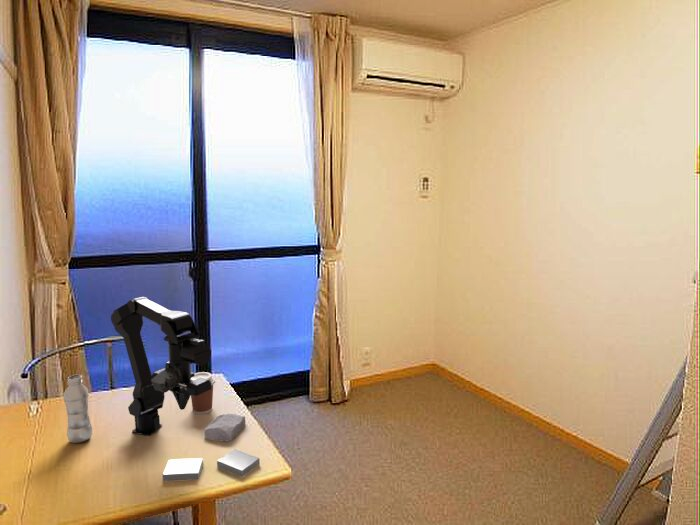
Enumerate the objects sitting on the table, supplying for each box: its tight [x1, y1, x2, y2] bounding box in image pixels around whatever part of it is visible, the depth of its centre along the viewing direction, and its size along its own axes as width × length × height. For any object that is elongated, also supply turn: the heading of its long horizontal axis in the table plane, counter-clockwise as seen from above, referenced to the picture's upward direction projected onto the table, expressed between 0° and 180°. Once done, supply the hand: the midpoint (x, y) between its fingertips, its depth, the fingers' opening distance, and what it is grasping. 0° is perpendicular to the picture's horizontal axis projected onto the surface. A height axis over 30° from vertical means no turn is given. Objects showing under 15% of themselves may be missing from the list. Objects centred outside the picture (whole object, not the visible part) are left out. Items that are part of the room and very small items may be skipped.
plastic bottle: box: [62, 374, 93, 444], centre depth 148 cm, size 6×7×20 cm
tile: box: [216, 448, 261, 478], centre depth 138 cm, size 2×7×9 cm
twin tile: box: [162, 457, 204, 482], centre depth 134 cm, size 9×7×2 cm
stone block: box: [204, 413, 246, 442], centre depth 156 cm, size 12×5×10 cm
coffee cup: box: [190, 371, 216, 415], centre depth 170 cm, size 9×9×12 cm
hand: (182, 409), depth 145 cm, fingers closed
